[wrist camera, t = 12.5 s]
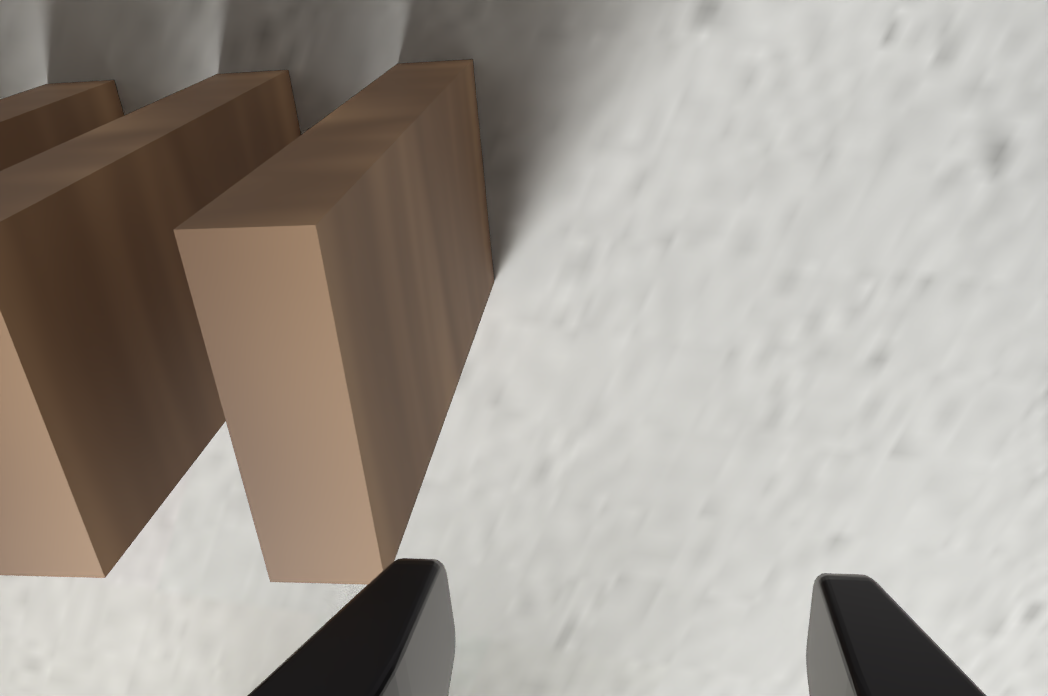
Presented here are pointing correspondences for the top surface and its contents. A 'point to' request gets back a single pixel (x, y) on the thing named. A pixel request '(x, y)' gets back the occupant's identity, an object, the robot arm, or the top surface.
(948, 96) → the top surface
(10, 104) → the tile
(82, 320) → the tile
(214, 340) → the tile
